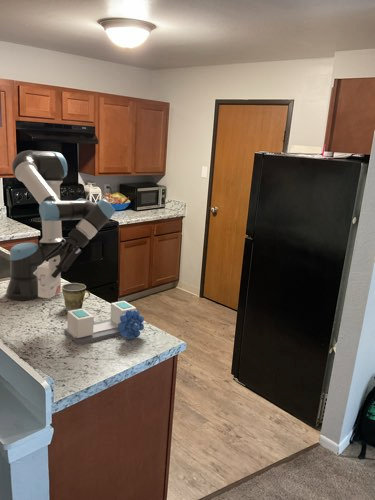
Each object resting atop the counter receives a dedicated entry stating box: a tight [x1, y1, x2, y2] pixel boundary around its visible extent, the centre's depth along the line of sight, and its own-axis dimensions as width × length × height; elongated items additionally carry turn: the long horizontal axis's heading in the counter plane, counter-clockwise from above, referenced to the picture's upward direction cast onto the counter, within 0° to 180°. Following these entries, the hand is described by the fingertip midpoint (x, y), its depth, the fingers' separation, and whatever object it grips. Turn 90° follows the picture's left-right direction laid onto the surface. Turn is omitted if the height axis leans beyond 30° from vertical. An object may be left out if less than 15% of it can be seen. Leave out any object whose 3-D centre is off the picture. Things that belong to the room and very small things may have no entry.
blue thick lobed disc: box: [118, 309, 145, 341], centre depth 154 cm, size 12×7×12 cm, turn 133°
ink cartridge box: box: [37, 255, 62, 299], centre depth 155 cm, size 9×5×15 cm, turn 168°
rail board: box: [63, 300, 137, 346], centre depth 160 cm, size 12×25×9 cm, turn 129°
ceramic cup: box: [61, 282, 91, 312], centre depth 179 cm, size 13×10×10 cm
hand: (40, 279), depth 153 cm, fingers closed on ink cartridge box, 9 cm apart
